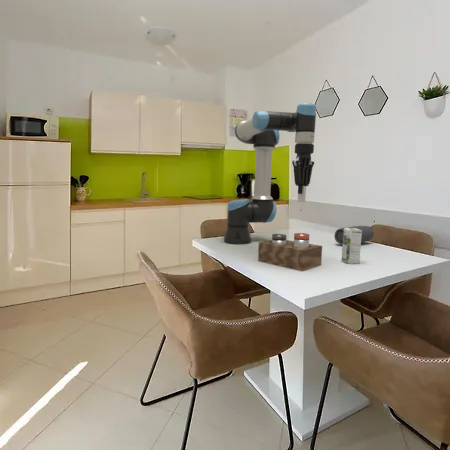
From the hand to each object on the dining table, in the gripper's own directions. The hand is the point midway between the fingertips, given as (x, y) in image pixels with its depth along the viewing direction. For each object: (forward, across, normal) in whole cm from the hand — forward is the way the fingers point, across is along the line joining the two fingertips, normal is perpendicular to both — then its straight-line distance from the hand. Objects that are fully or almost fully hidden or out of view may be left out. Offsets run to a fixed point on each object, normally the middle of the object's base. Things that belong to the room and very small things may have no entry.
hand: (301, 201), depth 143 cm
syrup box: (+26, +16, -16) cm, 34 cm away
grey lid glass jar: (+25, -5, +7) cm, 26 cm away
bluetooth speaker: (+27, +57, +2) cm, 63 cm away
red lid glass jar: (+23, -5, -4) cm, 24 cm away
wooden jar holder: (+26, -5, +1) cm, 26 cm away
